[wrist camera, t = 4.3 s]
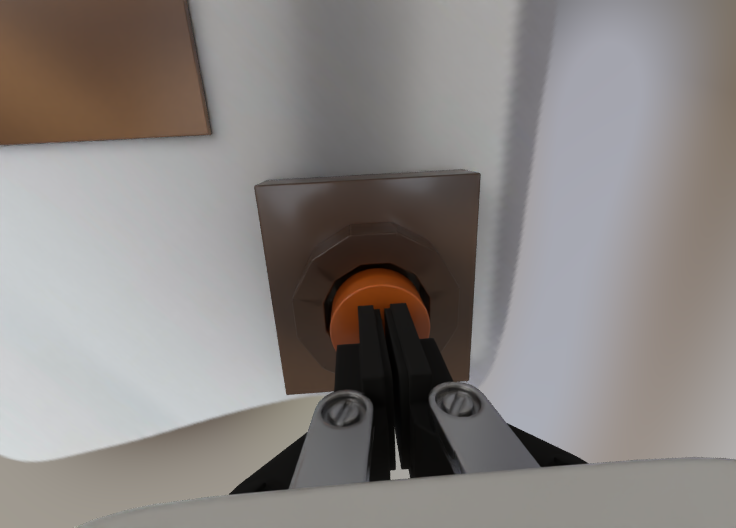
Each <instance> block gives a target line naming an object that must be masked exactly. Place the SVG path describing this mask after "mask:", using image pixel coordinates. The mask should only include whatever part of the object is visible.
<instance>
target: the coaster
mask: <svg viewBox="0 0 736 528" xmlns="http://www.w3.org/2000/svg"><path fill="white" fill-rule="evenodd" d="M211 134H212V133H211V128H210V122H209V117H208V112H207V106H206V101H205V95H204V90H203V85H202V79H201V74H200V69H199V63H198V58H197V52H196V47H195V42H194V36H193V31H192V25H191V20H190V15H189V9H188V4H187V0H0V145H19V144H39V143H59V142H79V141H99V140H119V139H139V138H159V137H179V136H199V135H211Z"/></svg>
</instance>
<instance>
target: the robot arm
mask: <svg viewBox="0 0 736 528" xmlns="http://www.w3.org/2000/svg"><path fill="white" fill-rule="evenodd" d="M384 320H385V334H384V329H383V324H382V319H381V314H380V309H374V308H373V305H367V306H358V322H359V339H360V343H355V344H341V345H337V350H336V367H335V384H334V392H332V393H330V394H329V395H327V396H325V397H324V398H323V399H322V400H321V401H319V403H318V405H317V406H316V409H315V411H314V414H313V417H312V420H311V423H310V426H309V429H308V432H307V433H306V434H304V435H303V436H302V437H301V438H299V439H298V440H297V441H295V442H294V443H293V444H291V445H290V446H289V447H287V448H286V449H285V450H284V451H282V452H281V453H280V454H278V455H277V456H276V457H275V458H273V459H272V460H271V461H269V462H268V463H267V464H265V465H264V466H263V467H261V468H260V469H259V470H258V471H256V472H255V473H254V474H253V475H251V476H250V477H249V478H247V479H246V480H245V481H243V482H242V483H241V484H239V485H238V486H237V487H236V488H235V489H234V490H233V491H232V492H231V493H230V494H229V495H224V496H213V497H205V498H197V499H191V500H182V501H174V502H167V503H159V504H153V505H148V506H143V507H138V508H133V509H129V510H124V511H121V512H118V513H114V514H111V515H107V516H104V517H101V518H97V519H94V520H91V521H89V522H86V523H84V524H81V525H79V526H76V527H74V528H736V460H734V459H726V458H703V457H688V458H666V459H645V460H630V461H616V462H603V463H590V464H589V463H587V462H585V461H584V460H582V459H580V458H578V457H577V456H575V455H573V454H571V453H568V452H566V451H564V450H562V449H560V448H558V447H556V446H554V445H552V444H549V443H547V442H545V441H543V440H541V439H539V438H537V437H535V436H533V435H531V434H528V433H526V432H524V431H522V430H520V429H518V428H516V427H514V426H512V425H510V424H508V423H506V422H505V421H504V419H503V418H502V417H501V416H500V415H499V413H498V412H497V410H496V409H495V408H494V407H493V405H492V404H491V403H490V402H489V400H488V399H487V398H486V396H485V395H484V394H483V393H482V392H481V391H480V390H479V389H477V388H475V387H473V386H472V385H469V384H466V383H462V382H453V379H452V377H451V375H450V373H449V370H448V368H447V366H446V364H445V361H444V359H443V357H442V355H441V353H440V350H439V348H438V346H437V344H436V341H435V340H434V338H425V339H419V336H418V334H417V331H416V328H415V326H414V323H413V320H412V318H411V315H410V312H409V310H408V307H407V304H406V303H396V304H390V308H384ZM394 427H395V429H394ZM395 433H396V439H397V445H398V451H399V457H400V463H401V469H409V474H410V478H408V479H398V480H390V470H395V469H396V461H395Z"/></svg>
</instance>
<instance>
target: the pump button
mask: <svg viewBox="0 0 736 528" xmlns="http://www.w3.org/2000/svg"><path fill="white" fill-rule="evenodd" d="M396 303H406V304H407V307H408V310H409V312H410V315H411V318H412V320H413V323H414V326H415V328H416V331H417V334H418V336H419V339H425V338H429V334H430V319H429V315H428V312H427V309H426V307H425V305H424V303H423V301H422V299H421V297H420V295H419V293H418V291H417V289H416V287H415V286H414V284H413V283H412V282H411V281H410V280H409V279H408V278H406V277H405V276H404V275H402V274H400V273H399V272H396V271H393V270H390V269H384V268H372V269H367V270H363V271H360V272H358V273H356V274H354V275H352V276H351V277H349V278H348V279H347V280H346V281H344V282H343V283H342V285H341V286H340V287H339V289H338V290H337V292H336V294H335V296H334V299H333V303H332V312H331V322H330V337H331V341H332V344H333V347H334V349H335V351H336V350H337V345H341V344H355V343H360V339H359V322H358V306H367V305H373V308H374V309H380V314H381V319H382V324H383V329H384V334H385V320H384V308H390V304H396Z"/></svg>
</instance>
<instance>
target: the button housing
mask: <svg viewBox="0 0 736 528" xmlns="http://www.w3.org/2000/svg"><path fill="white" fill-rule="evenodd" d="M480 176H481V174H480V173H478V172H473V171H468V170H463V169H460V170H442V171H424V172H406V173H388V174H370V175H351V176H333V177H315V178H297V179H279V180H267V181H264V182H262V183H260V184H257V185H255V186H254V189H255V195H256V202H257V208H258V215H259V221H260V228H261V234H262V240H263V247H264V253H265V260H266V266H267V273H268V279H269V286H270V292H271V299H272V305H273V312H274V318H275V324H276V331H277V337H278V344H279V350H280V357H281V363H282V370H283V376H284V383H285V389H286V394H287V395H292V394H305V393H318V392H331V391H334V384H335V367H336V351H335V349H334V347H333V344H332V341H331V337H330V322H331V312H332V303H333V299H334V296H335V294H336V292H337V290H338V289H339V287H340V286H341V285H342V283H343V282H344V281H346V280H347V279H348V278H349V277H351V276H352V275H354V274H356V273H358V272H360V271H363V270H367V269H372V268H384V269H390V270H393V271H396V272H399V273H400V274H402V275H404V276H405V277H406V278H408V279H409V280H410V281H411V282H412V283H413V284H414V286H415V287H416V289H417V291H418V293H419V295H420V297H421V299H422V301H423V303H424V305H425V307H426V309H427V312H428V315H429V319H430V334H429V338H434V340H435V341H436V344H437V346H438V348H439V350H440V353H441V355H442V357H443V359H444V361H445V364H446V366H447V368H448V370H449V373H450V375H451V377H452V379H453V382H460V381H469V370H470V352H471V335H472V317H473V299H474V282H475V264H476V246H477V229H478V211H479V193H480Z"/></svg>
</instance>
